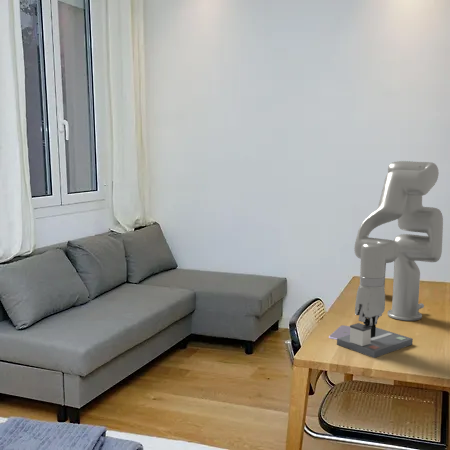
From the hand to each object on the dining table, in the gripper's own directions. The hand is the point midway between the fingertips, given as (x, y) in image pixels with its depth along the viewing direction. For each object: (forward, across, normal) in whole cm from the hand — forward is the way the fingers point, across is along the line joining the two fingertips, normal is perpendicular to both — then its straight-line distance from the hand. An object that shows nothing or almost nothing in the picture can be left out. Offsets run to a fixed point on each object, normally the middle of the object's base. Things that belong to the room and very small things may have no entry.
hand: (369, 336), depth 193 cm
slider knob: (+1, +5, 0) cm, 5 cm away
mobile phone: (+4, -4, -13) cm, 14 cm away
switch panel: (+4, -3, 0) cm, 4 cm away
